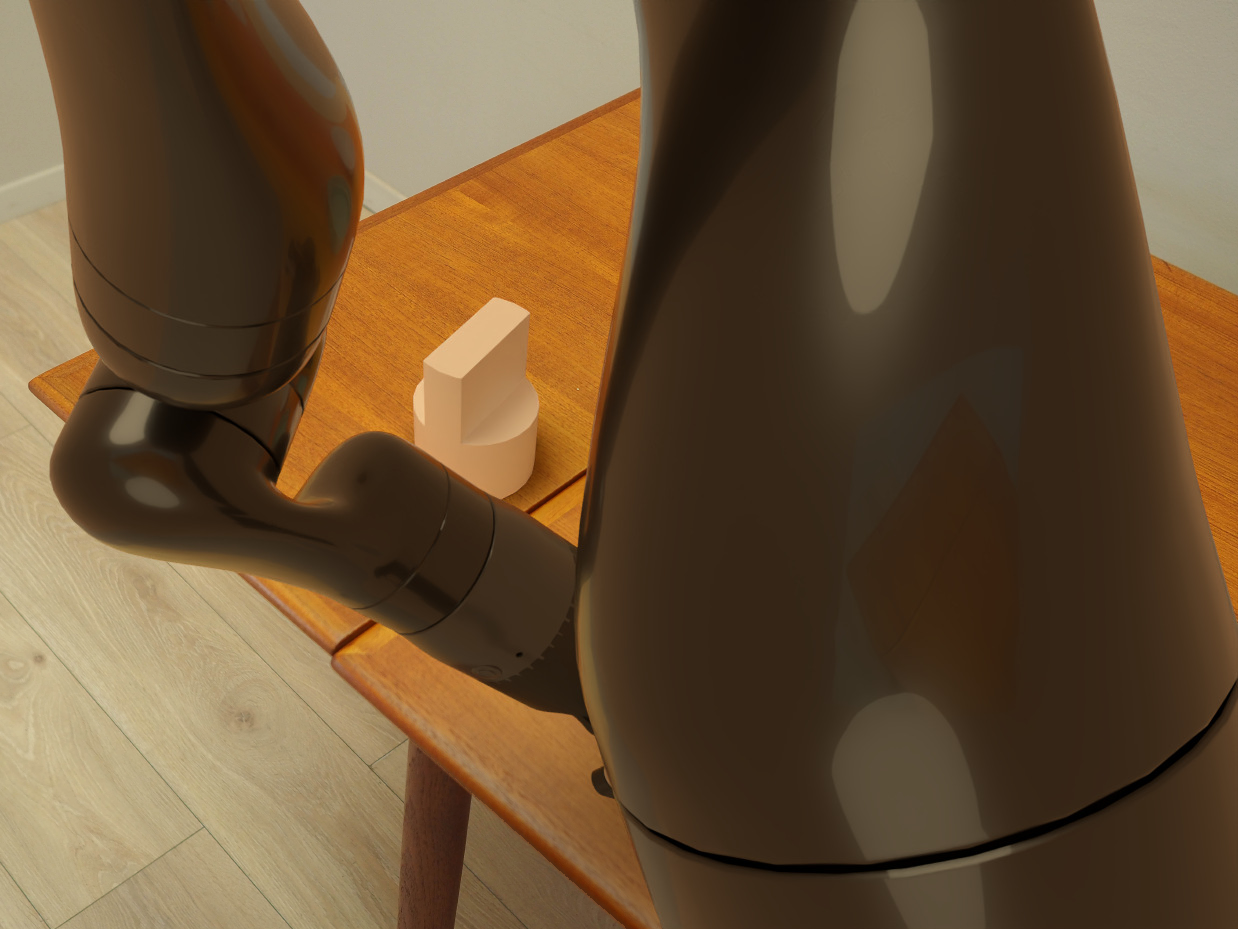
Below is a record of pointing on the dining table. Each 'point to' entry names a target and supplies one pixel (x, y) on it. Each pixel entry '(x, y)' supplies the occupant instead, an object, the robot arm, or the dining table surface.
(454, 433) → the cylinder with rectangular tab
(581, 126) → the dining table surface
